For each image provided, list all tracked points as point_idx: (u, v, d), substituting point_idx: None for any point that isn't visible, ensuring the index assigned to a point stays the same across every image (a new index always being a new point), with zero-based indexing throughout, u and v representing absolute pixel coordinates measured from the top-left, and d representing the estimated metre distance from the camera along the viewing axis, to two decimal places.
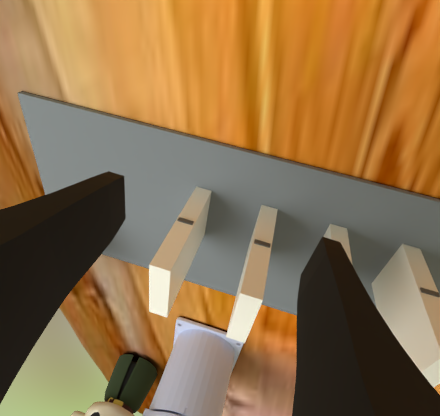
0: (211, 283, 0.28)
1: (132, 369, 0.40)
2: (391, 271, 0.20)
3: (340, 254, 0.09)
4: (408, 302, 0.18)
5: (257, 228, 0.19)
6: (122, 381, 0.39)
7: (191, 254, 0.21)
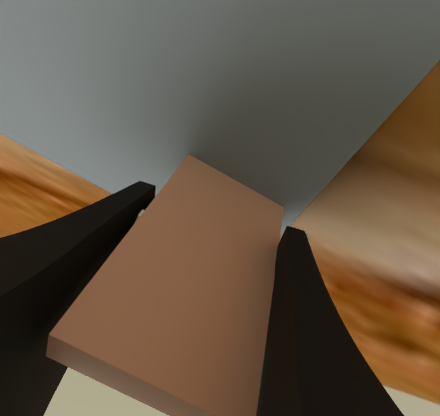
0: None
1: None
2: None
3: (301, 242, 0.09)
4: None
5: None
6: None
7: None
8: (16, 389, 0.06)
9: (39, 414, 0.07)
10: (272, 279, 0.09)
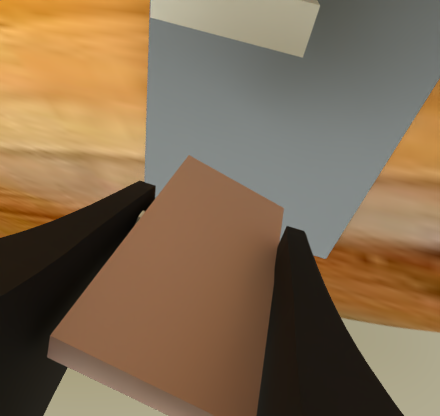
0: None
1: None
2: None
3: (301, 242, 0.09)
4: None
5: None
6: None
7: None
8: (16, 389, 0.06)
9: (39, 414, 0.07)
10: (272, 280, 0.09)
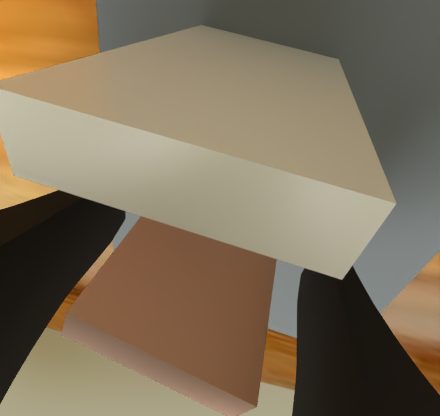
0: None
1: None
2: None
3: None
4: None
5: None
6: None
7: (288, 73, 0.06)
8: None
9: None
10: (273, 268, 0.09)
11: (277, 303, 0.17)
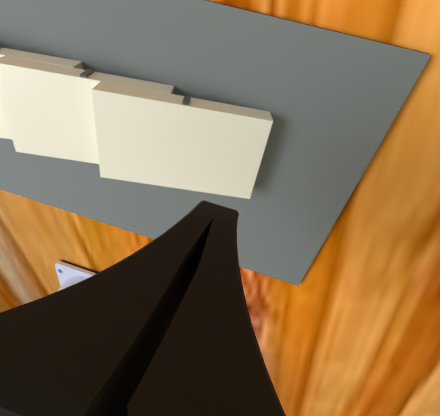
0: (73, 205, 0.22)
1: None
2: None
3: (227, 219, 0.09)
4: None
5: (25, 52, 0.15)
6: None
7: None
8: None
9: None
10: None
11: None
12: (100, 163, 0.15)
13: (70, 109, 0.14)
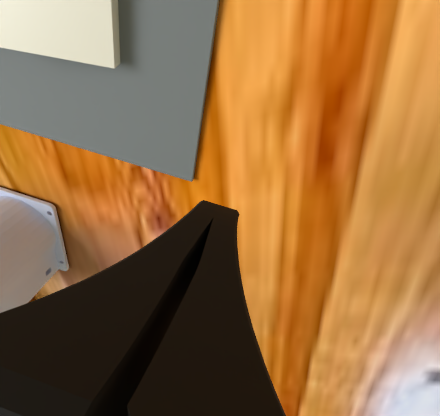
0: None
1: None
2: None
3: (227, 219, 0.09)
4: None
5: None
6: None
7: None
8: None
9: None
10: None
11: None
12: None
13: None
